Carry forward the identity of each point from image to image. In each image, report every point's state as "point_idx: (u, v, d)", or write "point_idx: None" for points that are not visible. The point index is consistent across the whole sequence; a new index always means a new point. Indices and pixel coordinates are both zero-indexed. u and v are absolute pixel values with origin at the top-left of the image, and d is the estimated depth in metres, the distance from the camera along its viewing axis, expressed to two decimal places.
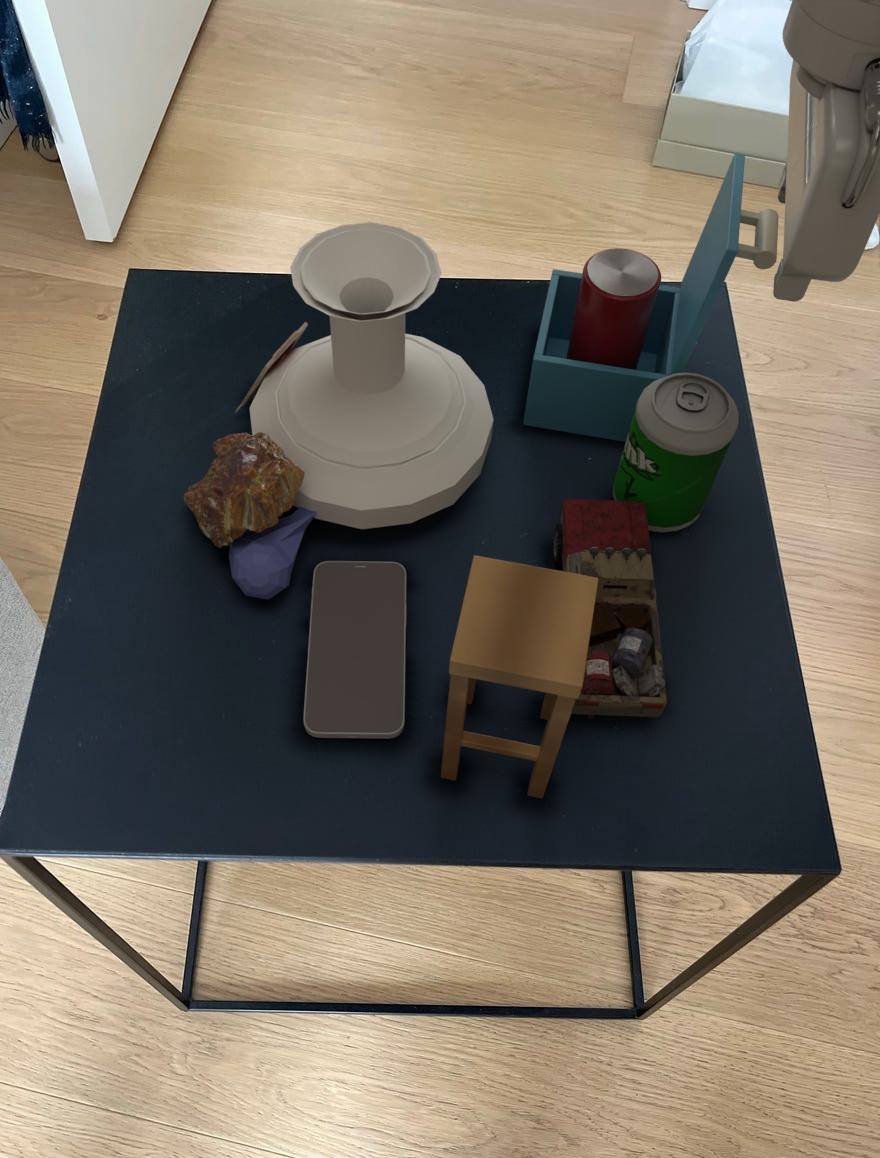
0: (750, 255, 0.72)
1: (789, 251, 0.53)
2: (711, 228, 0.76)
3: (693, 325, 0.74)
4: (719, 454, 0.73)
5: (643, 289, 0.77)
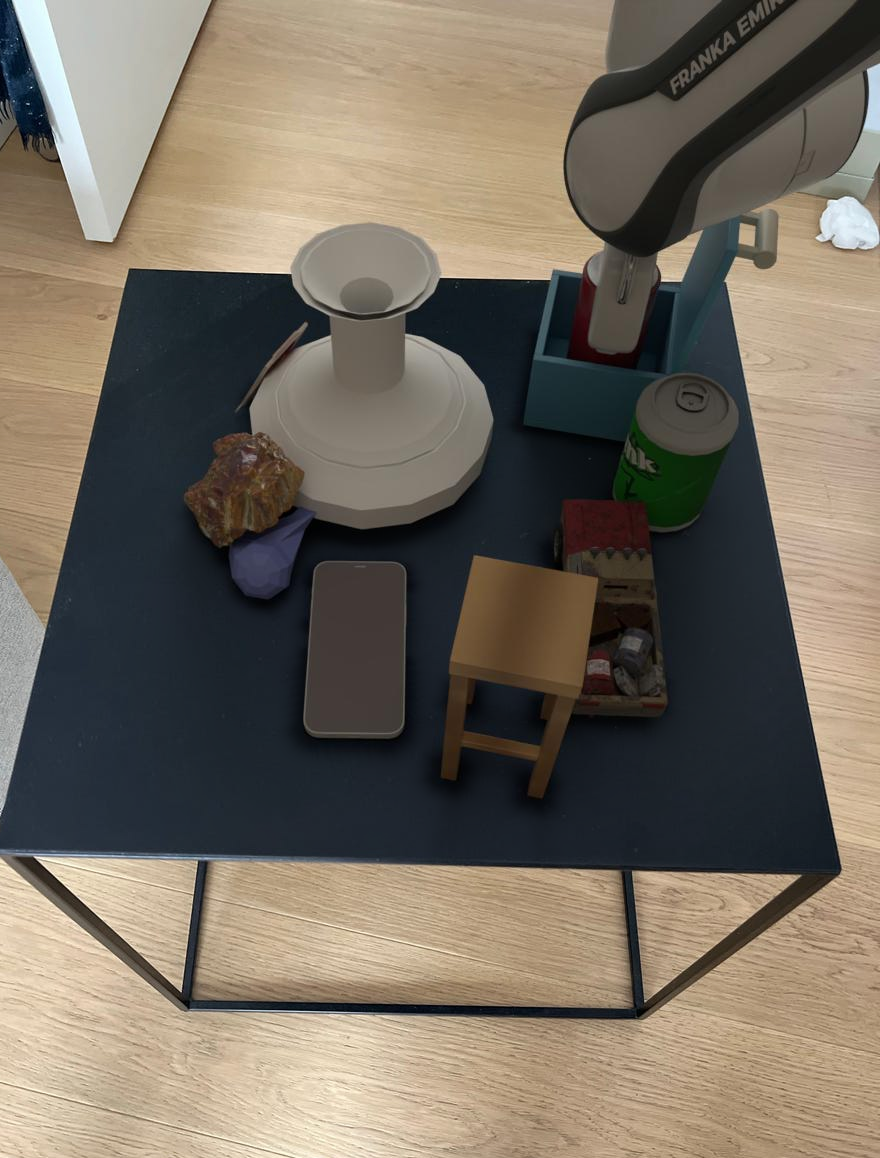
0: (750, 255, 0.72)
1: (588, 331, 0.72)
2: (711, 228, 0.76)
3: (693, 325, 0.74)
4: (719, 454, 0.73)
5: None
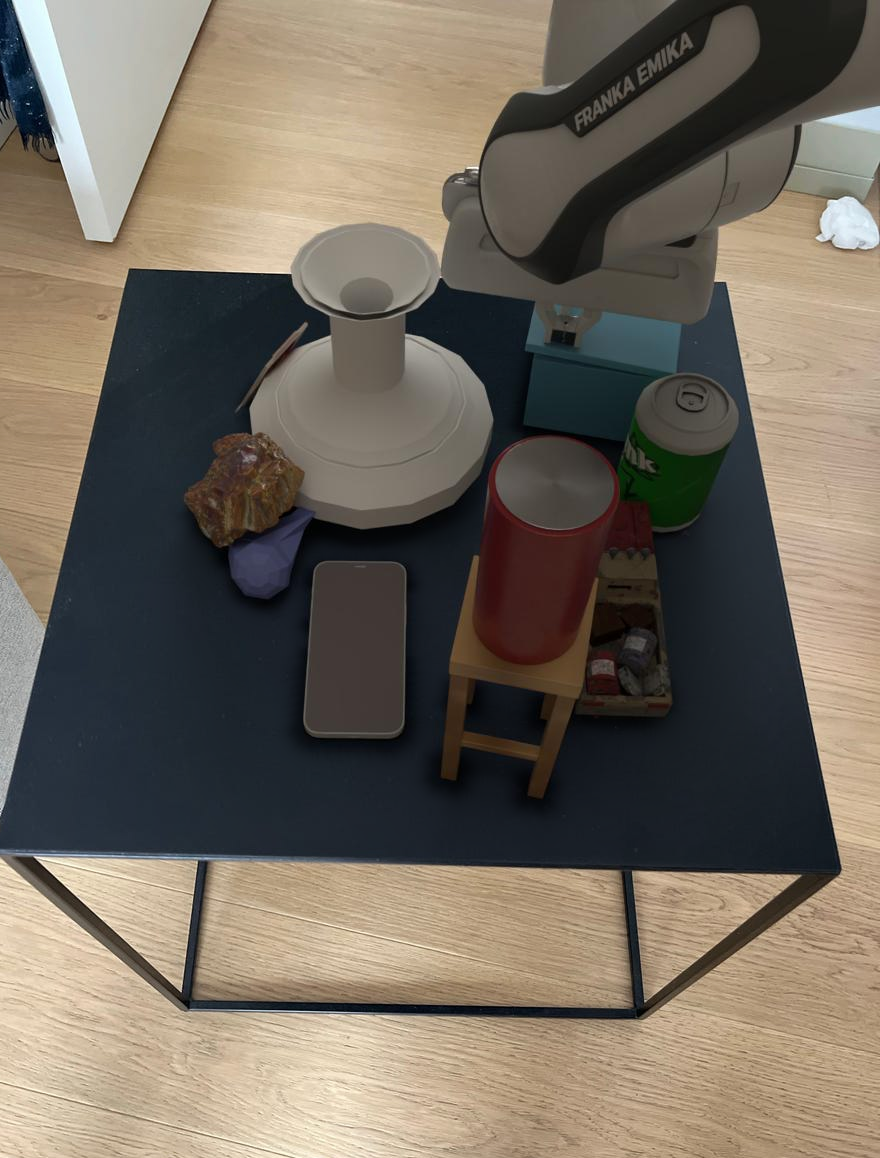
0: None
1: None
2: None
3: (608, 367, 0.80)
4: (719, 454, 0.73)
5: (587, 517, 0.45)
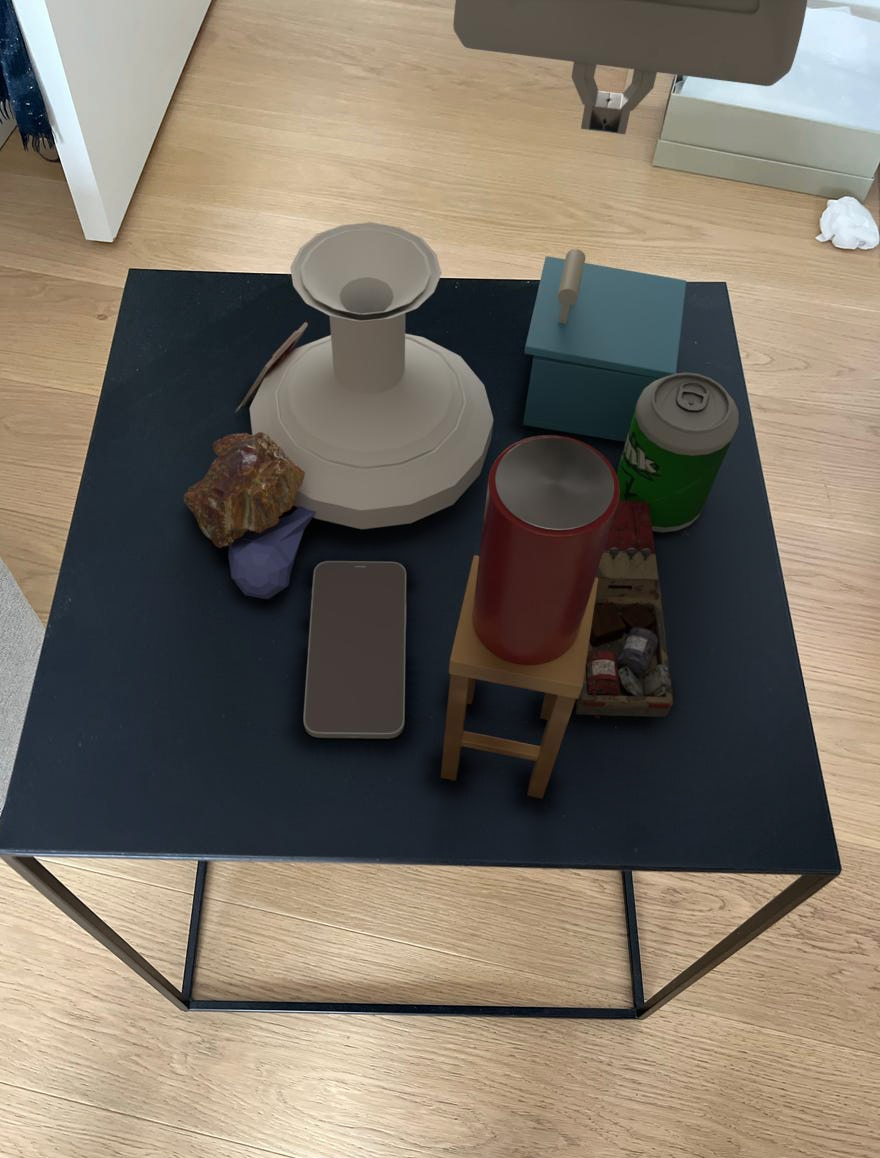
0: (564, 307, 0.80)
1: None
2: None
3: (608, 368, 0.80)
4: (719, 454, 0.73)
5: (587, 517, 0.45)
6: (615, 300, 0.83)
